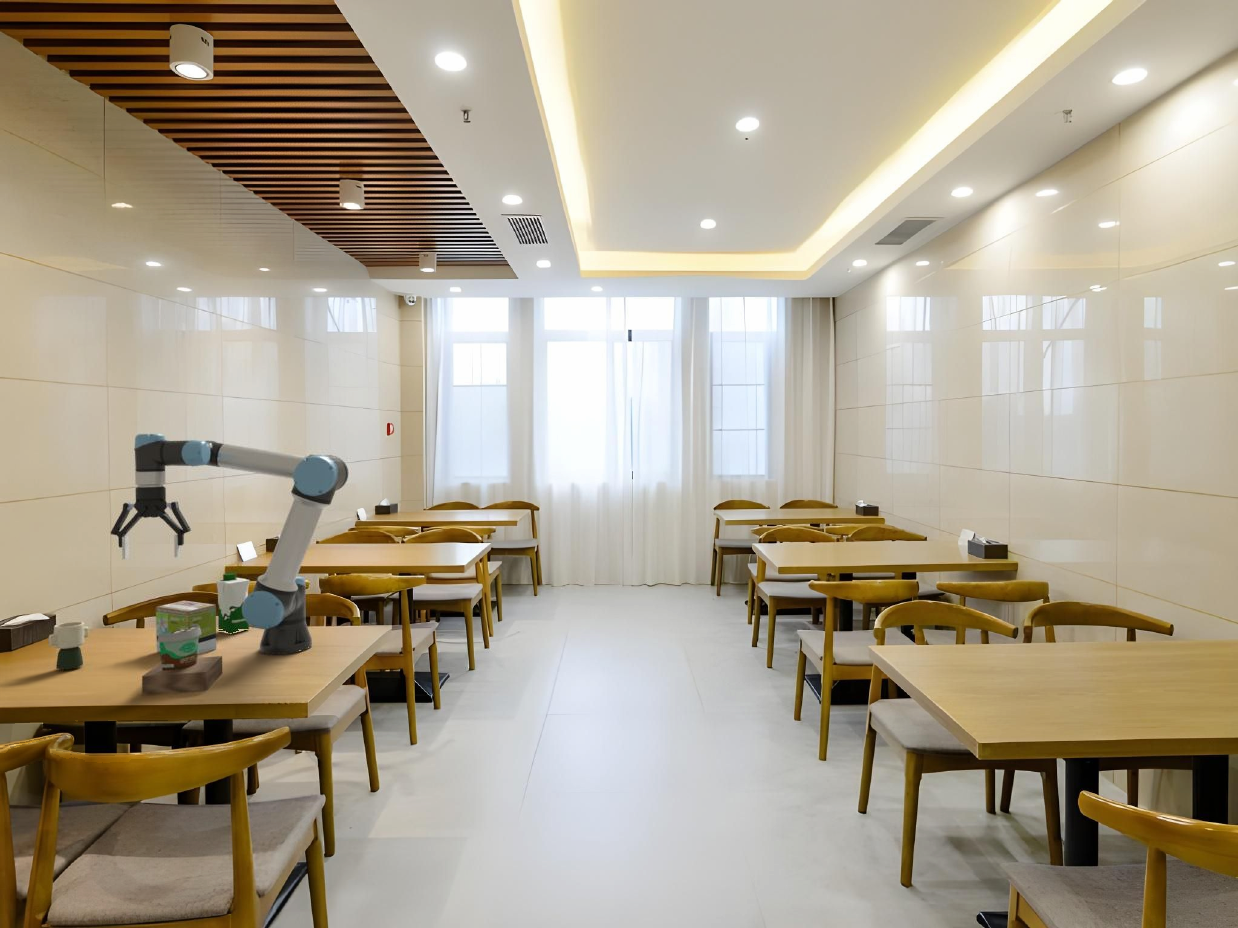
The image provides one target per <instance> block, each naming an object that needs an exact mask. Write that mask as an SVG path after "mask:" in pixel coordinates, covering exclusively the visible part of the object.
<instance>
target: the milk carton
mask: <svg viewBox="0 0 1238 928" xmlns="http://www.w3.org/2000/svg"><path fill="white" fill-rule="evenodd" d="M215 582H216V589H217V599H218V600H217V606H218V607H217V608H218V609H217V610H218V611H217V612H218V613H217V614H218V616H217V617H218V624H217V625H218V627H217V628H218V629H223V630H218V631H226V632H228V633H233V632H236V631H239V630H238V629H249V630H250V624H248V623H247V622H246V620H245V618H244V617H243V614H242V605H243V602H244V600H245V599H246V597H247V596H248V595H249V586H250V582H251V580H250V579H246V578H242V577H241V578H240V577H237V573H235V572H229V573H223V574H222V579H221V580H216V581H215ZM218 631H217V632H218Z"/></svg>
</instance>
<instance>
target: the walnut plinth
mask: <svg viewBox="0 0 1238 928" xmlns="http://www.w3.org/2000/svg"><path fill="white" fill-rule="evenodd" d="M222 673H223V655H218V656H205V657H202V656H201V657H197V663H196V664H195V665H193V666H191V667H188V668H183V669H178V670H162V662H161V661H160V662H158V663H157V664H155V666H153V667H152V668H151V669H150V670H148V671H147V672H145V674H143V675H142V676H141V682H142V683H141V687H142V688H141V689H142V690H141V692H142V696H151V695H152V696H154V695H167V694H168V695H169V694H177V693H178V694H180V693H192V691H195V692H205V690H207V691H209V689H208V688H210V687H212V686H213V684H214V683H215V682H217V680H218V679H219V678H220V677H221V676H222ZM190 691H191V692H190Z"/></svg>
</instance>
